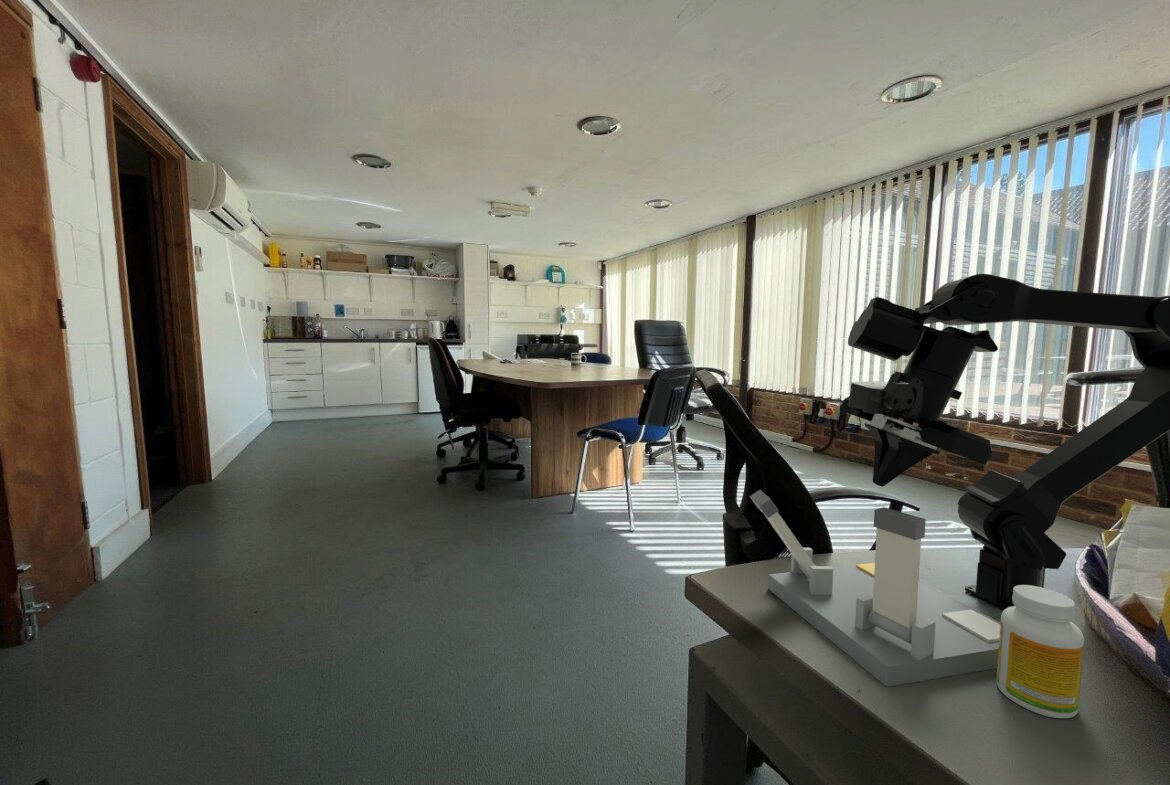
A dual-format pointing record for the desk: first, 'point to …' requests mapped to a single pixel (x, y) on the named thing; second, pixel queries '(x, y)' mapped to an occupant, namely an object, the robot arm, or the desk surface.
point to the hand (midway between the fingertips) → (877, 484)
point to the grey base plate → (840, 612)
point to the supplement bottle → (1040, 652)
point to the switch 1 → (783, 531)
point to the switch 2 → (896, 571)
